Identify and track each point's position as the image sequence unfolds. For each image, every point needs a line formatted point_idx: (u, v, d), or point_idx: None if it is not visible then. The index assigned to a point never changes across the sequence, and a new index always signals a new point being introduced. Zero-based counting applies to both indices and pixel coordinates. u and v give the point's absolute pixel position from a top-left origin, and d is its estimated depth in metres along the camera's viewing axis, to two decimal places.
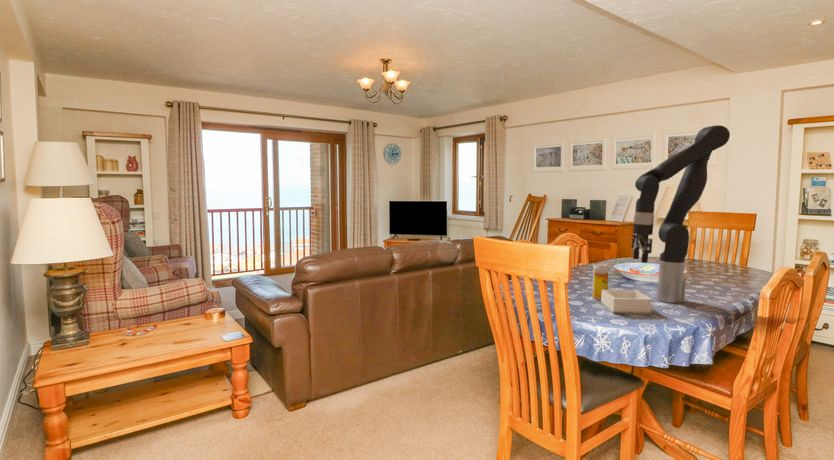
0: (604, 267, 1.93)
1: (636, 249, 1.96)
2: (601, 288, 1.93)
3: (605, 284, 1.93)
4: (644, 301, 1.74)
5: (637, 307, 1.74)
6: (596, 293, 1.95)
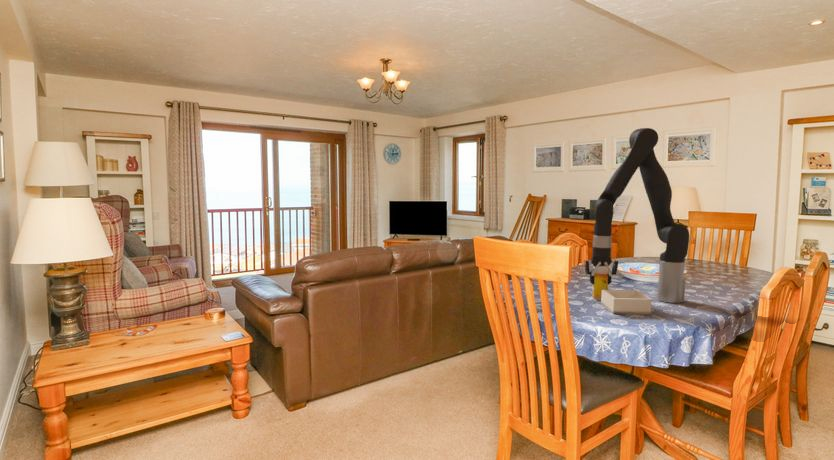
0: (604, 267, 1.92)
1: None
2: (601, 288, 1.93)
3: (605, 284, 1.93)
4: (644, 301, 1.74)
5: (637, 307, 1.74)
6: (596, 293, 1.95)
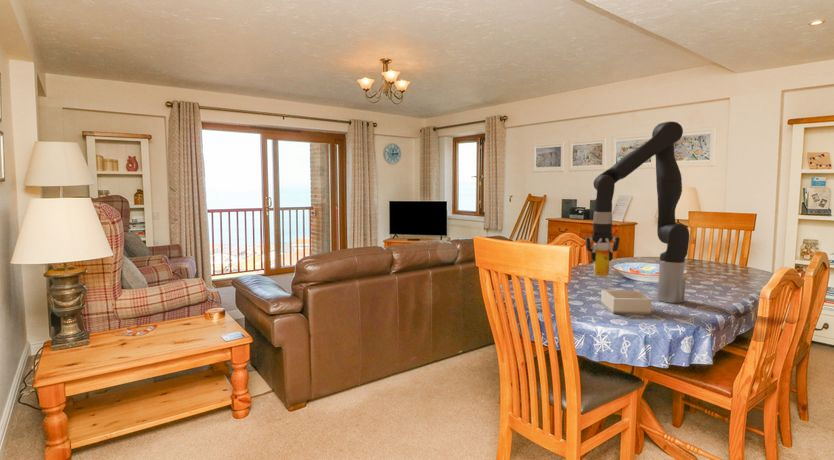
0: (605, 243, 1.91)
1: None
2: (603, 265, 1.92)
3: (607, 260, 1.92)
4: (644, 301, 1.74)
5: (637, 307, 1.74)
6: (597, 270, 1.94)
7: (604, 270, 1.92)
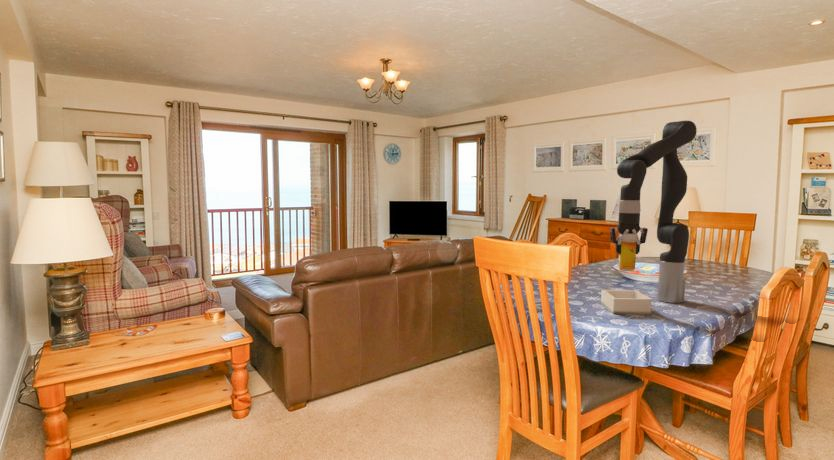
0: (632, 235, 1.76)
1: None
2: (629, 258, 1.76)
3: (633, 253, 1.76)
4: (644, 301, 1.74)
5: (637, 307, 1.74)
6: (622, 263, 1.78)
7: (631, 263, 1.77)
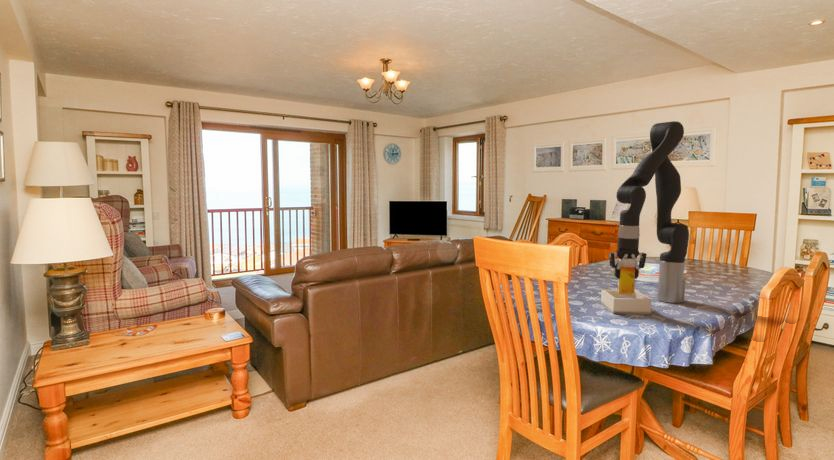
0: (631, 260, 1.77)
1: None
2: (628, 283, 1.77)
3: (632, 278, 1.77)
4: (644, 301, 1.74)
5: (637, 307, 1.74)
6: (621, 288, 1.79)
7: (629, 288, 1.78)
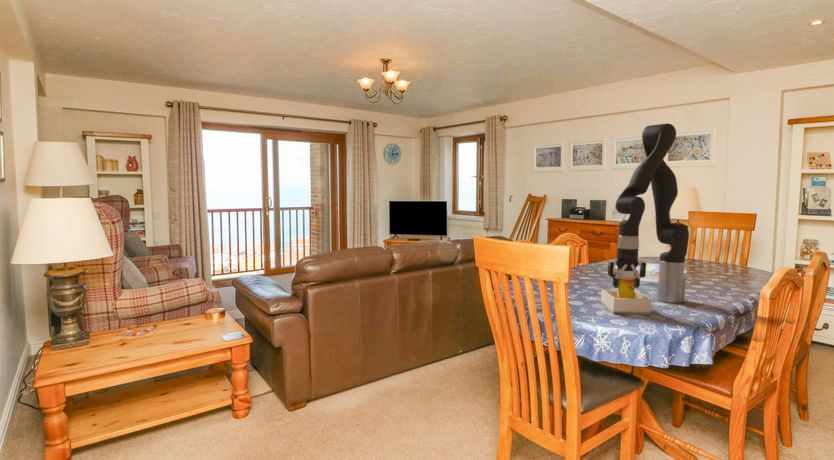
0: (630, 272, 1.77)
1: None
2: (628, 295, 1.78)
3: (632, 290, 1.78)
4: (644, 301, 1.74)
5: (637, 307, 1.74)
6: None
7: None
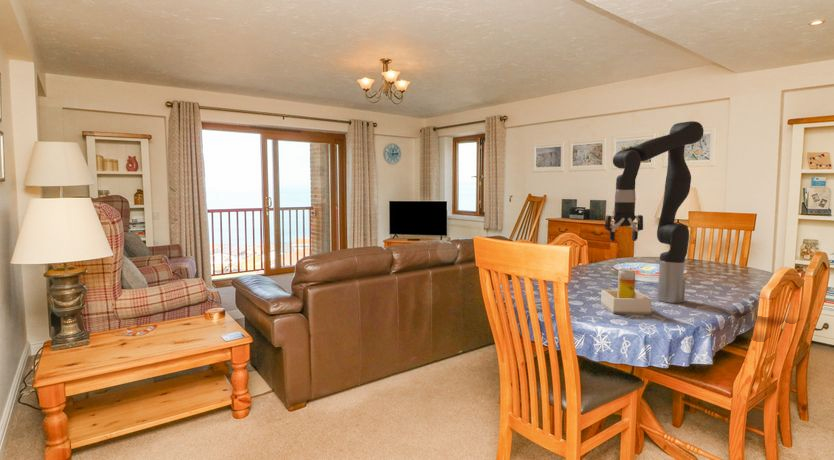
0: (631, 272, 1.77)
1: None
2: (628, 295, 1.78)
3: (632, 290, 1.78)
4: (644, 301, 1.74)
5: (637, 307, 1.74)
6: None
7: None
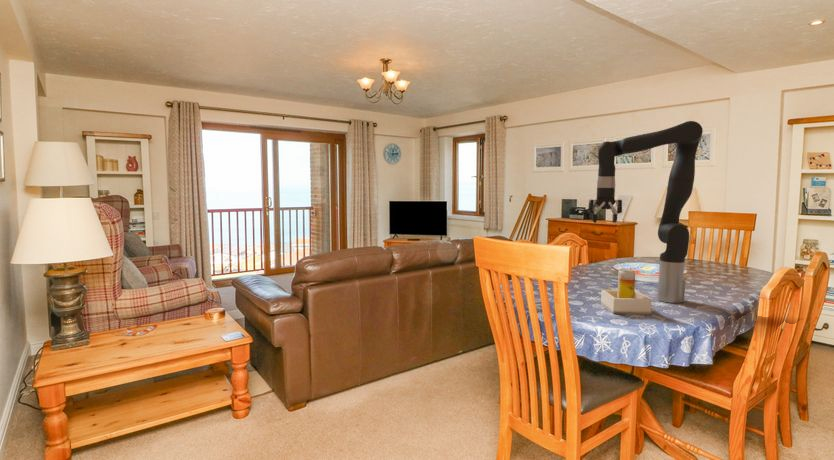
0: (631, 272, 1.77)
1: None
2: (628, 295, 1.78)
3: (632, 290, 1.78)
4: (644, 301, 1.74)
5: (637, 307, 1.74)
6: None
7: None
